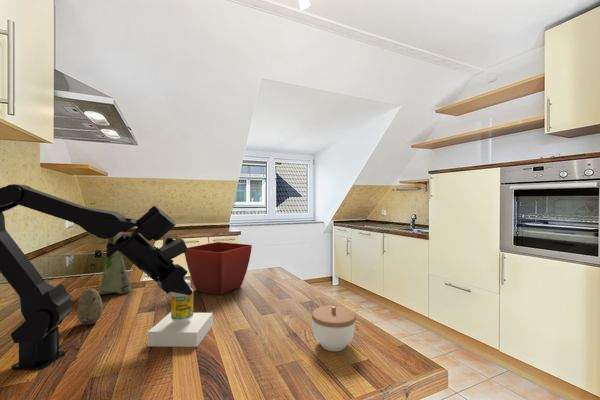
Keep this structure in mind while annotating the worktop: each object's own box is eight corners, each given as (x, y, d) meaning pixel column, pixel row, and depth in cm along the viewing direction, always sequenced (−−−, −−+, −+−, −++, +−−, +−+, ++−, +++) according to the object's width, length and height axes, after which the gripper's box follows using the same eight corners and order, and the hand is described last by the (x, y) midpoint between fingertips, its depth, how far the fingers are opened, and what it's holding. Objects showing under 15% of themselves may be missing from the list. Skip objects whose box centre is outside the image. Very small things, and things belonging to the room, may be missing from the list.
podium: (197, 346, 70) (197, 332, 70) (147, 346, 70) (147, 331, 70) (212, 325, 82) (212, 312, 82) (170, 324, 82) (170, 312, 82)
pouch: (116, 298, 103) (116, 228, 103) (87, 296, 105) (87, 227, 105) (138, 288, 114) (138, 225, 114) (111, 287, 116) (112, 224, 116)
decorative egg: (72, 329, 79) (72, 292, 79) (82, 320, 84) (82, 286, 84) (97, 327, 80) (98, 290, 80) (105, 318, 86) (106, 284, 86)
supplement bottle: (190, 312, 80) (191, 277, 80) (195, 319, 75) (195, 282, 75) (169, 316, 77) (169, 280, 77) (172, 324, 72) (173, 285, 72)
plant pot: (182, 291, 111) (182, 247, 111) (217, 279, 128) (218, 241, 128) (219, 300, 102) (220, 252, 102) (252, 286, 119) (253, 245, 119)
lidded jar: (320, 359, 65) (320, 317, 65) (306, 337, 75) (306, 301, 75) (363, 353, 68) (363, 313, 68) (344, 332, 78) (344, 297, 78)
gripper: (178, 232, 66) (223, 273, 73) (158, 225, 81) (197, 260, 88) (139, 271, 61) (191, 312, 68) (124, 257, 76) (169, 291, 83)
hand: (187, 291), depth 77 cm, fingers closed on supplement bottle, 5 cm apart
